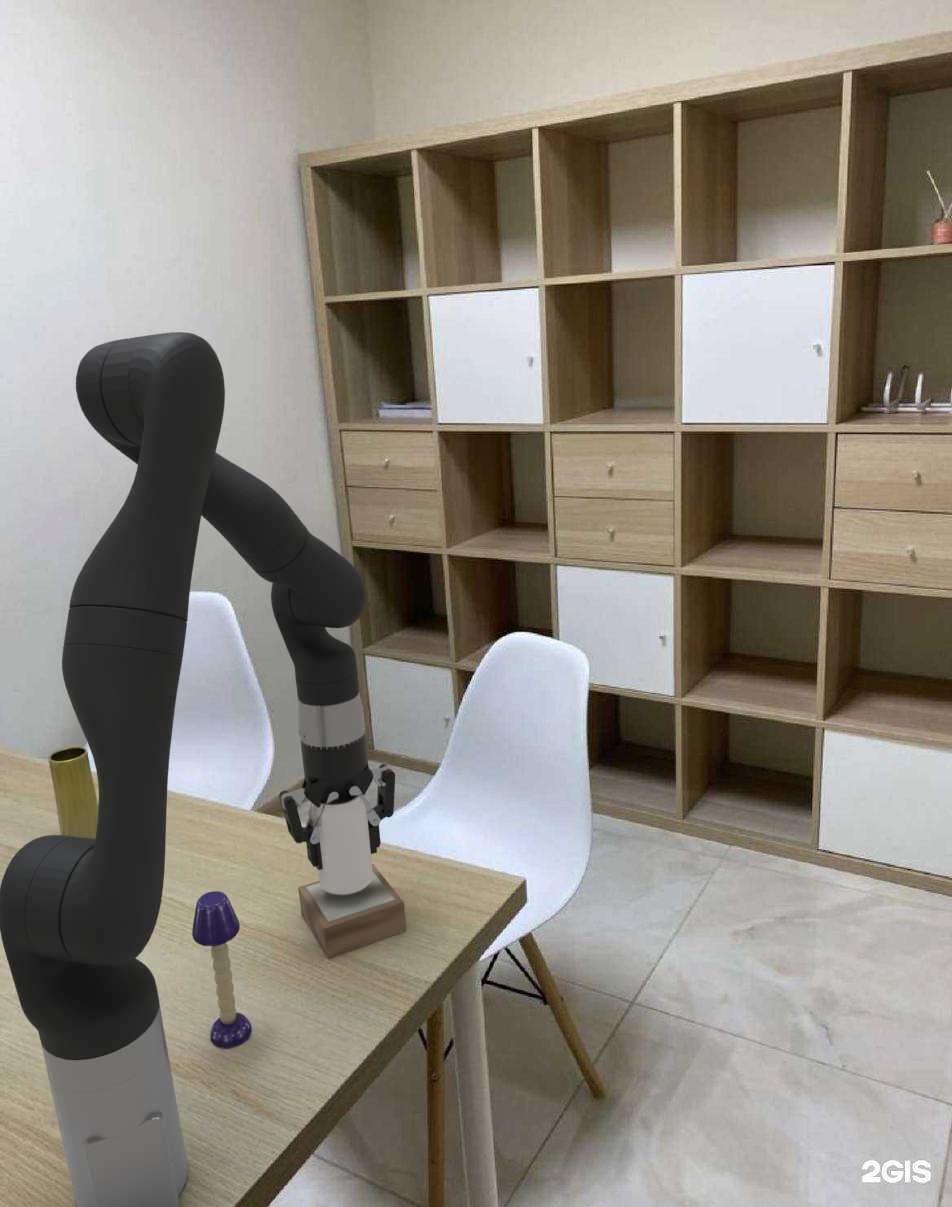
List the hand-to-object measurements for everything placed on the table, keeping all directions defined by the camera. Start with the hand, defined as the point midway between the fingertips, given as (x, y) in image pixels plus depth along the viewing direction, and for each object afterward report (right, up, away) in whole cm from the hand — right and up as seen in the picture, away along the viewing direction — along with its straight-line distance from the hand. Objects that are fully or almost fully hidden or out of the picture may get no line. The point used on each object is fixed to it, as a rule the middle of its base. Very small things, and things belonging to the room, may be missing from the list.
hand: (345, 857), depth 116 cm
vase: (-42, -5, +25) cm, 49 cm away
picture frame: (+1, -9, +3) cm, 9 cm away
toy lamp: (-10, -15, -15) cm, 24 cm away
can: (0, -3, +1) cm, 3 cm away
